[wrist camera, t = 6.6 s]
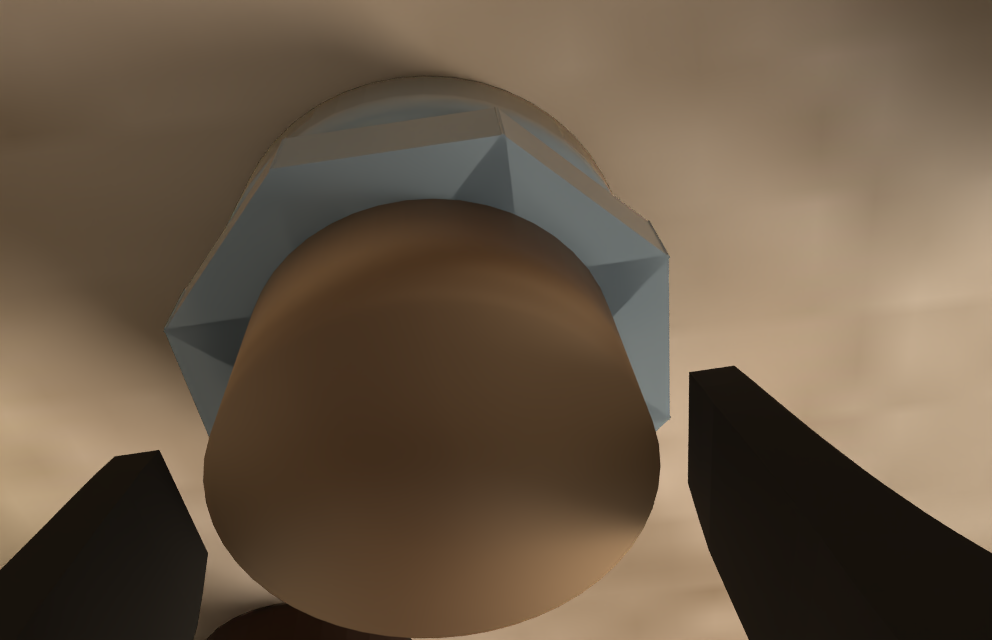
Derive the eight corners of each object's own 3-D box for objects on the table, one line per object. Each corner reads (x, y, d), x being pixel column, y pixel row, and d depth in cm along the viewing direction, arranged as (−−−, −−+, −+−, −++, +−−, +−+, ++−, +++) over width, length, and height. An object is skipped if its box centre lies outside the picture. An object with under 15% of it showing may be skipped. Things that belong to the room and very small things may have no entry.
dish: (614, 45, 14) (669, 109, 11) (628, 392, 18) (670, 511, 15) (175, 109, 14) (104, 191, 11) (291, 442, 18) (264, 570, 15)
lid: (611, 175, 11) (664, 270, 9) (619, 478, 14) (657, 610, 12) (197, 226, 11) (134, 337, 9) (295, 520, 14) (269, 661, 12)
